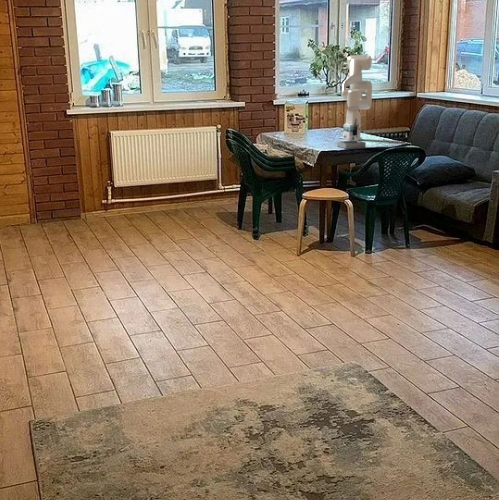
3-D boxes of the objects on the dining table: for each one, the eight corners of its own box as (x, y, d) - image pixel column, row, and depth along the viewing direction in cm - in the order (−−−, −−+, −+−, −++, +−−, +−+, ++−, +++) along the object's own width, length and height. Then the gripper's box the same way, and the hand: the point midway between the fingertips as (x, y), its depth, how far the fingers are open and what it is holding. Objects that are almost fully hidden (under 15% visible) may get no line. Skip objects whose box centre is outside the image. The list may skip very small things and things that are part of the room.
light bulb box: (349, 140, 487) (349, 124, 484) (342, 139, 493) (343, 123, 489) (360, 139, 493) (361, 123, 490) (354, 138, 498) (354, 122, 495)
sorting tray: (337, 146, 497) (337, 141, 496) (356, 145, 502) (357, 140, 501) (345, 149, 487) (345, 144, 486) (365, 147, 492) (365, 142, 491)
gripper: (341, 107, 493) (340, 133, 498) (354, 110, 478) (353, 136, 483) (351, 107, 496) (350, 132, 501) (364, 109, 480) (363, 135, 485)
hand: (351, 134), depth 492 cm, fingers closed on light bulb box, 7 cm apart
